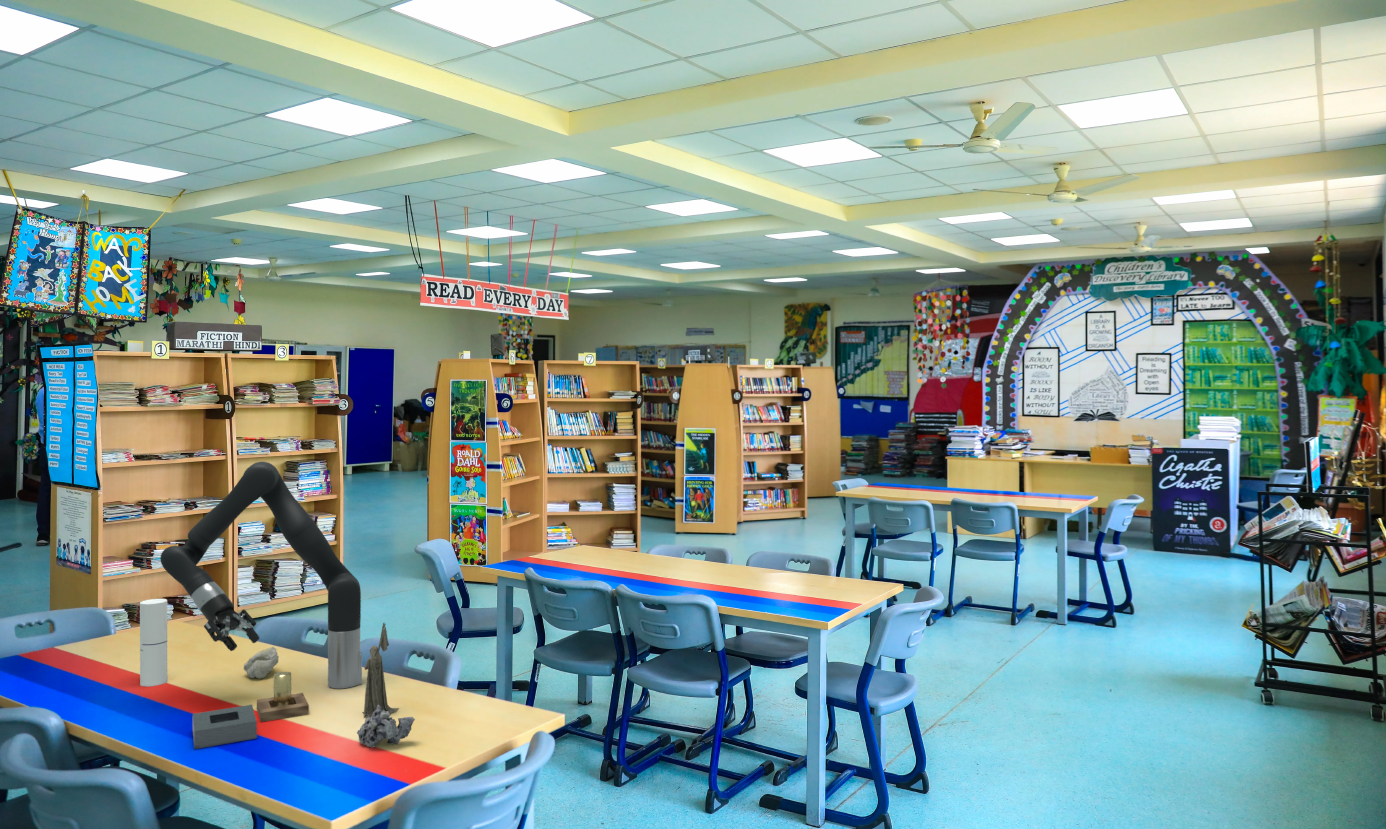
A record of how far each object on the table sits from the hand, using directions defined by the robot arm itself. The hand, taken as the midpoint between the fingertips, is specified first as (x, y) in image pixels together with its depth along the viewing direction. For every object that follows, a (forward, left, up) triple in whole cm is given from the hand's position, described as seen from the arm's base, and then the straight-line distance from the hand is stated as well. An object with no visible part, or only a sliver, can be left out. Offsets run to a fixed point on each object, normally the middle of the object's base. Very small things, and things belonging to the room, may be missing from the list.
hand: (245, 644), depth 250 cm
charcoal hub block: (+7, +20, -18) cm, 27 cm away
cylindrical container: (+23, -37, -18) cm, 47 cm away
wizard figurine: (-31, +23, -18) cm, 43 cm away
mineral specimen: (-27, +46, -18) cm, 56 cm away
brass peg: (-8, +9, -18) cm, 22 cm away
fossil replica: (-6, -29, -18) cm, 35 cm away
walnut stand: (-8, +9, -18) cm, 22 cm away
